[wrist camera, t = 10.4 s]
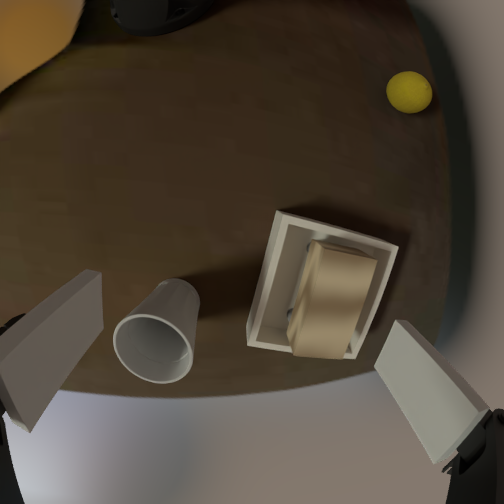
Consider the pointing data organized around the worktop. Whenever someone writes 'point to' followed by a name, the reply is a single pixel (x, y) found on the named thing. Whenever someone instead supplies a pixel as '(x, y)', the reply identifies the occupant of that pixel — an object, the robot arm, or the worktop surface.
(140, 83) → the worktop surface
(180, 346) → the cup
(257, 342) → the white open box
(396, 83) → the lemon
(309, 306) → the beige rectangular block
